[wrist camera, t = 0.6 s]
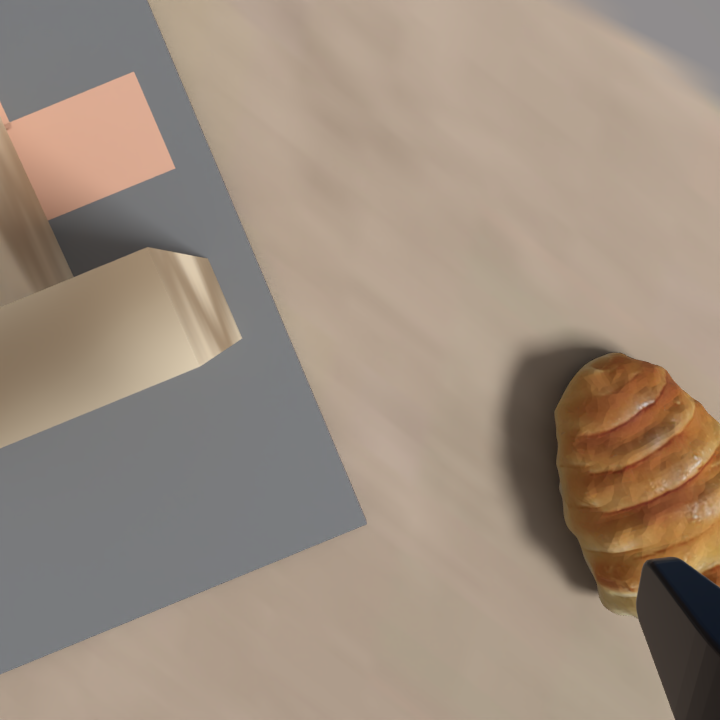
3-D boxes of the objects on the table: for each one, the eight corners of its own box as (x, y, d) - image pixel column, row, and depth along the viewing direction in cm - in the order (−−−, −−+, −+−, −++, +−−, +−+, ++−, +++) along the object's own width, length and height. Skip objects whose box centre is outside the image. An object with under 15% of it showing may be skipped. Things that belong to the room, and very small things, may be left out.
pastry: (499, 399, 25) (530, 419, 22) (662, 318, 25) (721, 323, 22) (601, 611, 26) (647, 666, 23) (756, 534, 26) (828, 575, 23)
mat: (366, 520, 25) (367, 524, 25) (-57, 693, 25) (-63, 699, 25) (73, -175, 22) (69, -183, 22) (-409, 22, 22) (-422, 17, 22)
